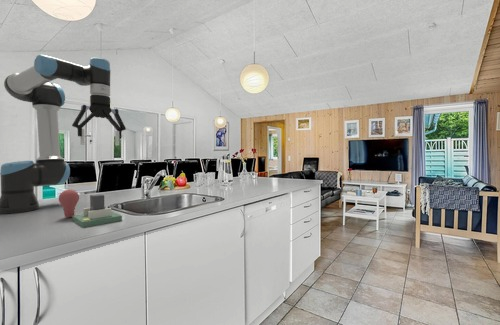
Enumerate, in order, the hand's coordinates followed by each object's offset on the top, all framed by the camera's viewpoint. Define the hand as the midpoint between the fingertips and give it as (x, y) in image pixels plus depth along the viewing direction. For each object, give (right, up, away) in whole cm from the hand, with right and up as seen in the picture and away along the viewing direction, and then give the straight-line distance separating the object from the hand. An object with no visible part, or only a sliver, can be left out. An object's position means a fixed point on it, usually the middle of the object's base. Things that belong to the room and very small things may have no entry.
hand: (100, 145), depth 111 cm
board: (+2, -31, -6) cm, 32 cm away
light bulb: (-12, -31, -2) cm, 34 cm away
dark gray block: (+2, -29, -6) cm, 30 cm away
